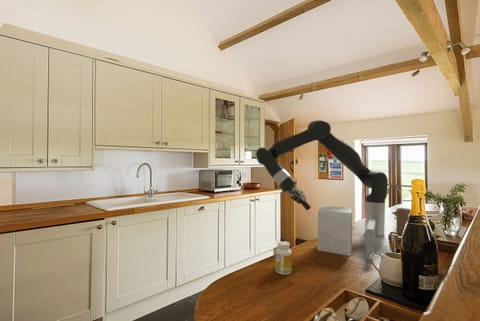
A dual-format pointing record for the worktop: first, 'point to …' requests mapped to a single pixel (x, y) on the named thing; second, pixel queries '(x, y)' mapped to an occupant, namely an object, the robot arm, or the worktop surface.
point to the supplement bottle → (283, 258)
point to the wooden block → (401, 219)
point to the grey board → (370, 238)
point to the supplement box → (335, 230)
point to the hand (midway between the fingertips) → (309, 208)
